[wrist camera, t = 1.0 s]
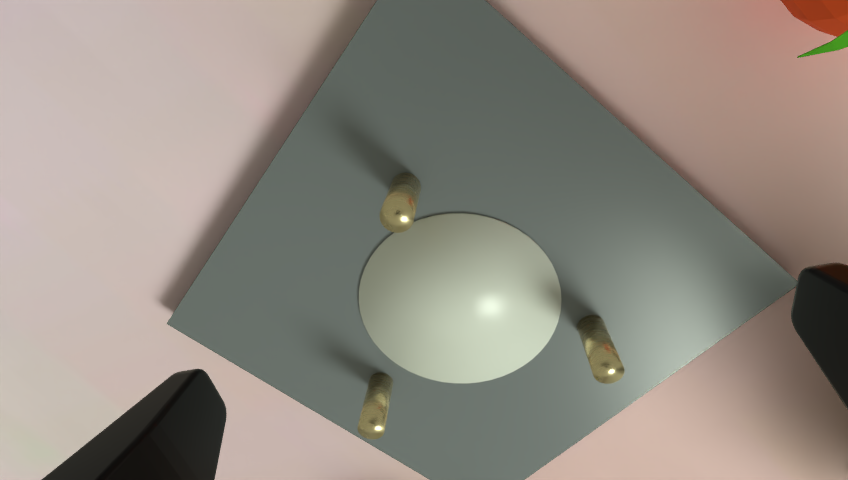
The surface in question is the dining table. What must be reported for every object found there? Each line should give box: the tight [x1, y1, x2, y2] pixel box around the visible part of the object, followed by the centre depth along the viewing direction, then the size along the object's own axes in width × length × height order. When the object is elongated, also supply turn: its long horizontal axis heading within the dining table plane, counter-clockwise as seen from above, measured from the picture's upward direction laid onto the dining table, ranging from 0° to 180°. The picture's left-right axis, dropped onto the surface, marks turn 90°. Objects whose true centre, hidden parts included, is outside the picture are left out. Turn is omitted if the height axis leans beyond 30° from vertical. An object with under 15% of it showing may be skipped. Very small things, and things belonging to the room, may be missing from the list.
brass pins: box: [357, 173, 625, 439], centre depth 21 cm, size 12×10×3 cm
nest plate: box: [167, 0, 798, 480], centre depth 22 cm, size 20×20×1 cm
